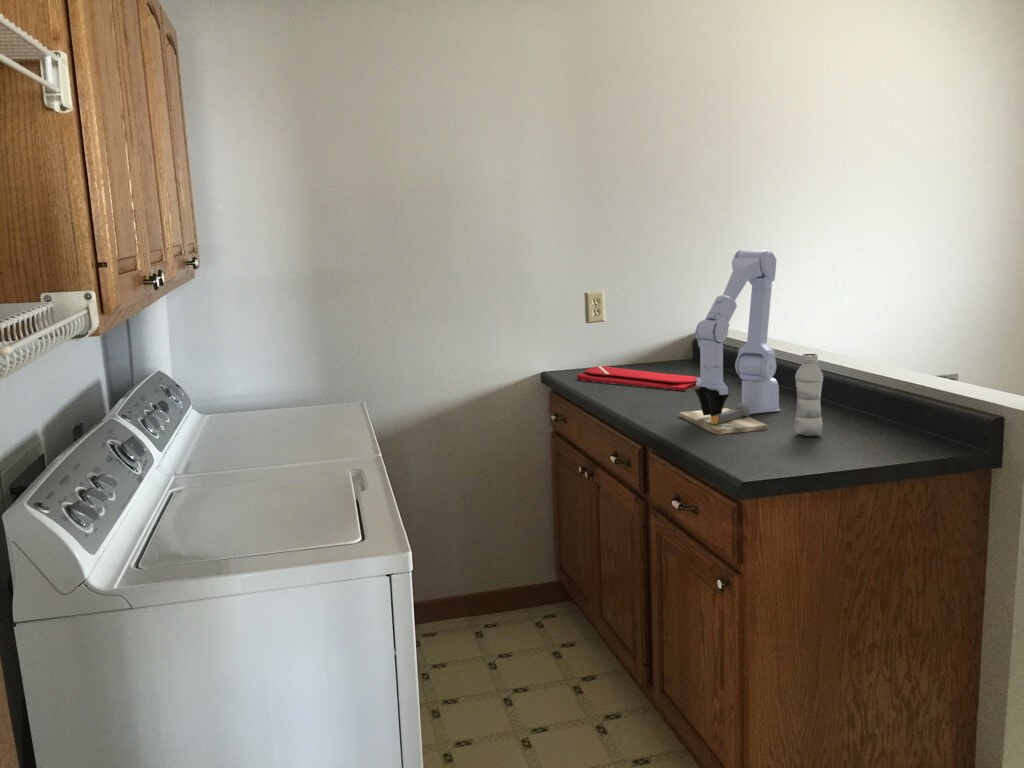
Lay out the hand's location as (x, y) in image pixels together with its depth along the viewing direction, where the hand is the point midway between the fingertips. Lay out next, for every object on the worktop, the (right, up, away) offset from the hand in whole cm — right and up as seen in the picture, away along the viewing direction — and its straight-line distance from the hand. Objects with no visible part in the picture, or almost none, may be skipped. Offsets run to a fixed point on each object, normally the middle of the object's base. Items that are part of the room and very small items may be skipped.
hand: (711, 416), depth 237 cm
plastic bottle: (+20, -4, -15) cm, 26 cm away
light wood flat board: (+3, -2, +1) cm, 3 cm away
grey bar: (+5, 0, -2) cm, 5 cm away
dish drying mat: (-10, +9, +62) cm, 63 cm away
